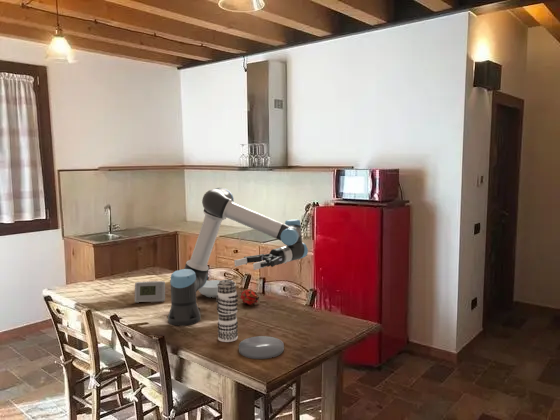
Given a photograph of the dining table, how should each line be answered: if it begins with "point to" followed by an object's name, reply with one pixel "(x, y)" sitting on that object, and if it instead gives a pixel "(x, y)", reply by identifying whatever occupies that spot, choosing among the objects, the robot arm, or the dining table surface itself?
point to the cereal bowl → (210, 288)
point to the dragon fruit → (249, 297)
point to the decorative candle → (227, 311)
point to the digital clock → (150, 291)
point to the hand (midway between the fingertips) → (244, 265)
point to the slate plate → (261, 347)
